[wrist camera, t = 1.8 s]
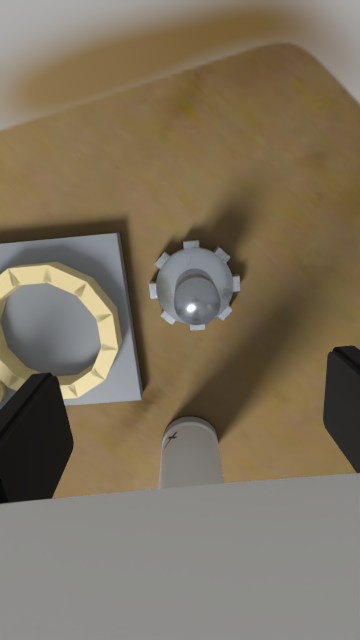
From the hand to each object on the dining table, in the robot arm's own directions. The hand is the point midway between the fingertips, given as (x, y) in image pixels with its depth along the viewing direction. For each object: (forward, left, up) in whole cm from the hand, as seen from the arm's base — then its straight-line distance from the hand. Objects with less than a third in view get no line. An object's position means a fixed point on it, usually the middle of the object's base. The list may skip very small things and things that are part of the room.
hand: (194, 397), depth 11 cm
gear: (-1, 0, -21) cm, 21 cm away
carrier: (+15, +3, -20) cm, 26 cm away
